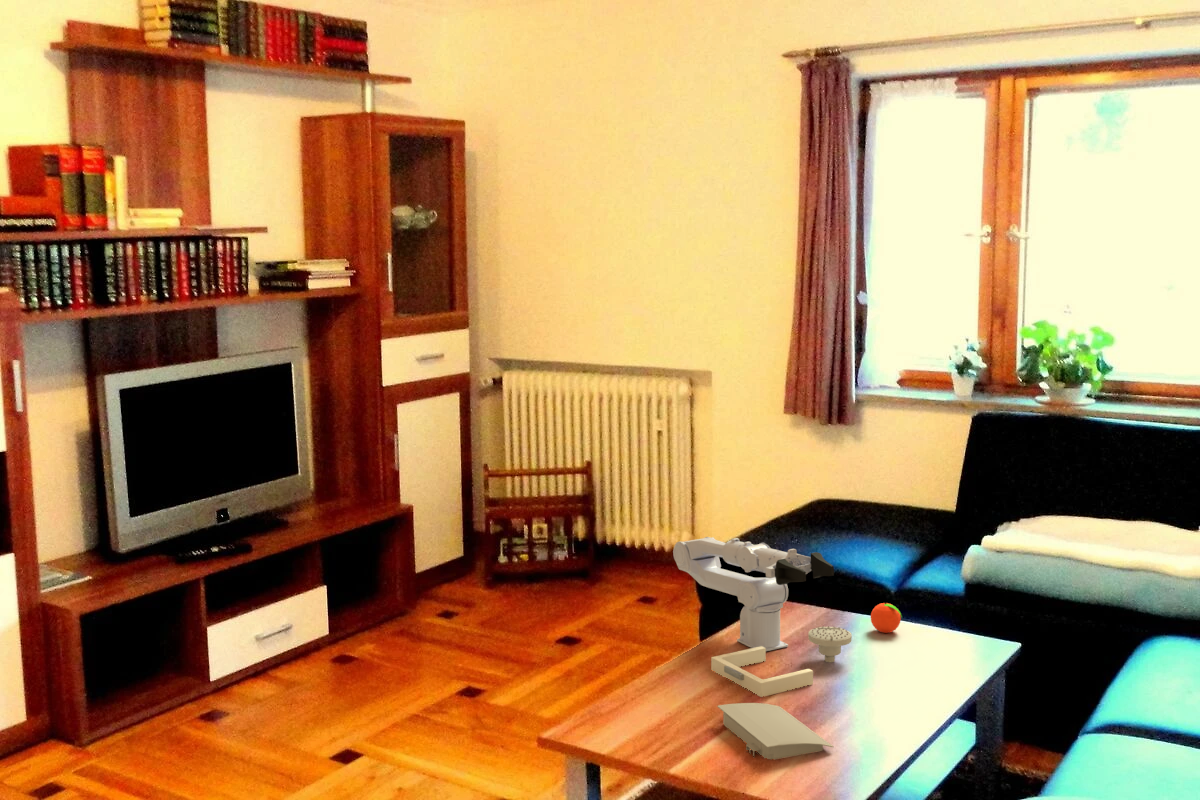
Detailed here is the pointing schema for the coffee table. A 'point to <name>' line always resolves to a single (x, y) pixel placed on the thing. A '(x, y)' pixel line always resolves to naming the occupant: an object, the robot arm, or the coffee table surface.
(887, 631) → the clementine
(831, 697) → the coffee table surface
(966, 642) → the coffee table surface
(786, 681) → the dock
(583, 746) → the coffee table surface
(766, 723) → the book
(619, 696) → the coffee table surface
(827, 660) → the showerhead
